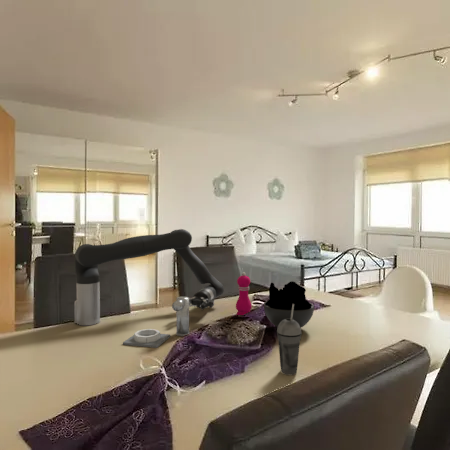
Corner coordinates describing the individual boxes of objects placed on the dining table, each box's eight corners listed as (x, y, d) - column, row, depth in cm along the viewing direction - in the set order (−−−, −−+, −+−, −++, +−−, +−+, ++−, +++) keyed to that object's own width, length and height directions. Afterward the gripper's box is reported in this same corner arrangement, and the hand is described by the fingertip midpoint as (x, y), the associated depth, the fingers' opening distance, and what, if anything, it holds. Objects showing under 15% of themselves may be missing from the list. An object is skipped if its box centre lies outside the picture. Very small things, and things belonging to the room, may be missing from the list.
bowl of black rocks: (318, 325, 152) (318, 280, 151) (307, 340, 134) (308, 289, 133) (272, 319, 160) (272, 276, 160) (256, 333, 142) (256, 284, 141)
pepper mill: (250, 318, 161) (250, 273, 161) (234, 317, 163) (234, 273, 162) (252, 314, 168) (252, 271, 168) (237, 313, 170) (237, 270, 169)
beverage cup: (273, 366, 111) (274, 301, 110) (297, 366, 111) (298, 300, 111) (279, 377, 103) (279, 307, 103) (304, 376, 104) (305, 306, 103)
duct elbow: (170, 338, 135) (170, 301, 135) (178, 331, 144) (178, 295, 143) (183, 340, 134) (183, 301, 134) (191, 332, 143) (191, 296, 142)
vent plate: (122, 344, 129) (122, 336, 129) (138, 333, 141) (138, 326, 141) (156, 347, 126) (156, 339, 126) (170, 336, 138) (170, 329, 138)
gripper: (188, 288, 168) (175, 296, 153) (218, 290, 165) (208, 298, 149) (188, 305, 168) (175, 314, 153) (218, 307, 165) (208, 316, 149)
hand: (191, 306), depth 151 cm, fingers open, 8 cm apart
